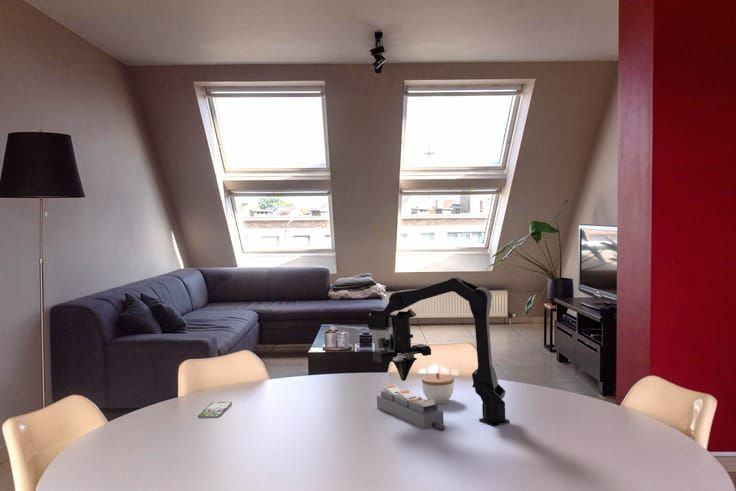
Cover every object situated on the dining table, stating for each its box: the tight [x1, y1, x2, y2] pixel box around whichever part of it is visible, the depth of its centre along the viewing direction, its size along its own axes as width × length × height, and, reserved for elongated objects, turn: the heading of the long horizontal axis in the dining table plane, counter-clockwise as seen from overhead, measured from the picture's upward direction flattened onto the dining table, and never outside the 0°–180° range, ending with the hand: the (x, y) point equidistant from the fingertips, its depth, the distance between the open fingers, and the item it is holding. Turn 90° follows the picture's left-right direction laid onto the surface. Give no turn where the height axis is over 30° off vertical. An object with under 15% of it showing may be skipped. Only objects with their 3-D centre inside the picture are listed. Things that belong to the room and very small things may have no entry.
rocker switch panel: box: [376, 390, 445, 431], centre depth 185 cm, size 30×7×6 cm, turn 31°
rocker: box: [383, 384, 403, 399], centre depth 193 cm, size 6×4×2 cm, turn 31°
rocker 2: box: [398, 389, 419, 403], centre depth 186 cm, size 6×4×2 cm, turn 31°
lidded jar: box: [421, 372, 455, 405], centre depth 201 cm, size 11×11×9 cm
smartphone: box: [197, 401, 233, 419], centre depth 199 cm, size 7×1×15 cm
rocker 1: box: [412, 398, 435, 407], centre depth 180 cm, size 6×4×2 cm, turn 31°
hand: (403, 380), depth 189 cm, fingers closed
